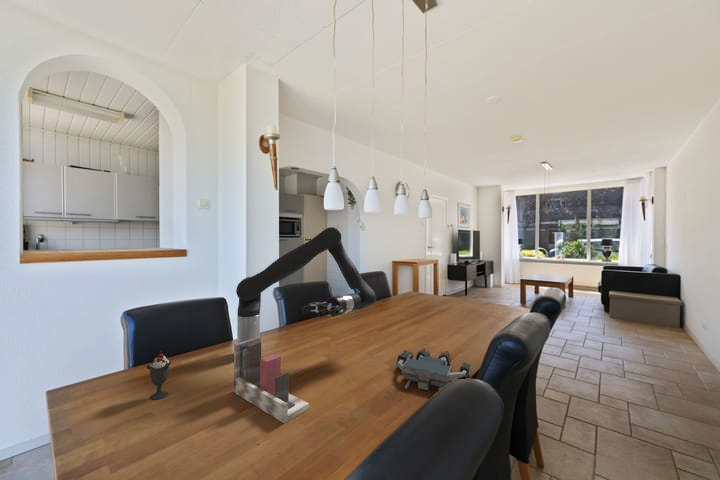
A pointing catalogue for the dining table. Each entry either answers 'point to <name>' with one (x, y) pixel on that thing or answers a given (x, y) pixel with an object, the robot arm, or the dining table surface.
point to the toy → (429, 369)
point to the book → (269, 372)
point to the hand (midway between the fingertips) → (310, 312)
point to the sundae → (159, 375)
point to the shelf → (263, 395)
